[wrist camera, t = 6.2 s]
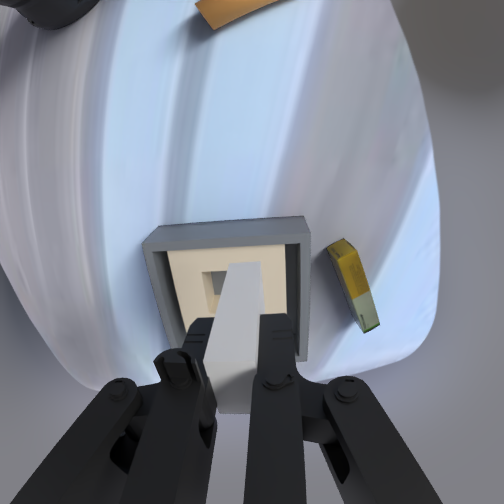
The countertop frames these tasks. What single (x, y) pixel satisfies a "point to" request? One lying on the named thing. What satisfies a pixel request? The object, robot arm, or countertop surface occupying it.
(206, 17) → the peg
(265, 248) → the box
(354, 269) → the medication box
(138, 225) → the countertop surface
